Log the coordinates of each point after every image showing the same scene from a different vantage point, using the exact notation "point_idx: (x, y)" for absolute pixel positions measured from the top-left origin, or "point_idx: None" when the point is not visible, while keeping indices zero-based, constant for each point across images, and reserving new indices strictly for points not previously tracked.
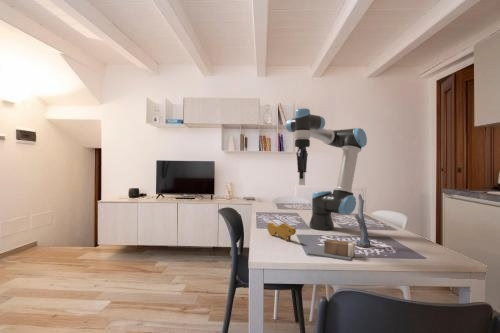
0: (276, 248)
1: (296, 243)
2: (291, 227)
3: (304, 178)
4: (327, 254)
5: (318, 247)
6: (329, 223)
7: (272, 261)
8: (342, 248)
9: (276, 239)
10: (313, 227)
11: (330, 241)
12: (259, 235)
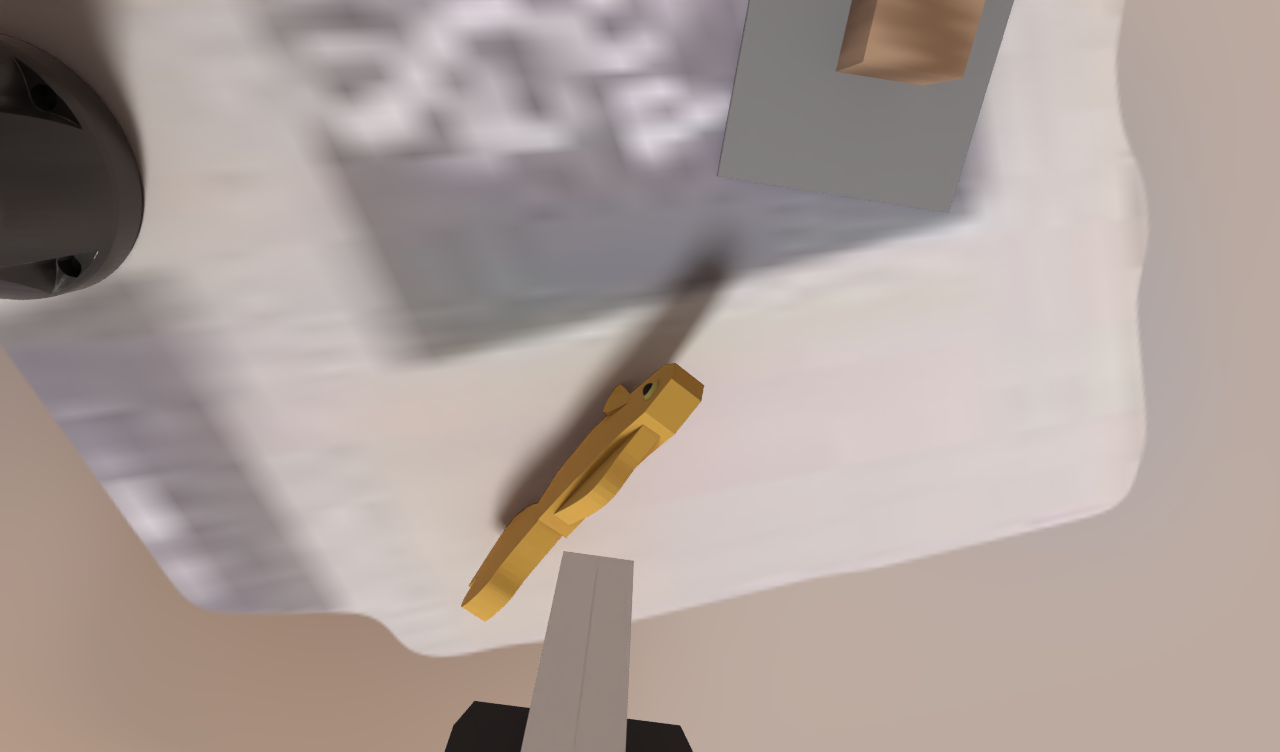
0: (850, 437)
1: (684, 327)
2: (670, 413)
3: (598, 688)
4: None
5: (785, 143)
6: (2, 73)
7: (1122, 407)
8: None
9: None
10: (123, 246)
11: (946, 19)
12: None
